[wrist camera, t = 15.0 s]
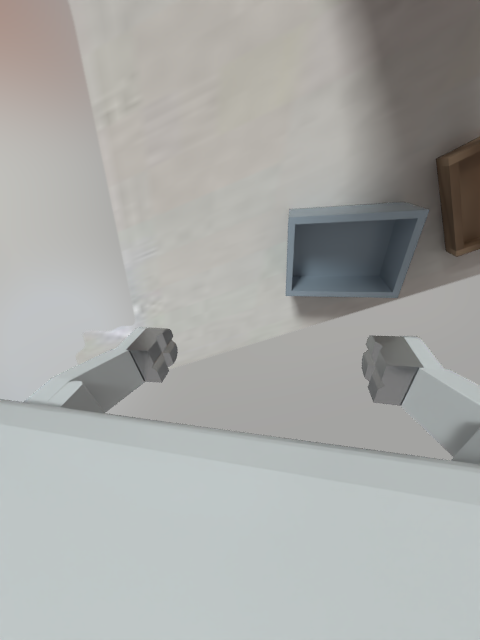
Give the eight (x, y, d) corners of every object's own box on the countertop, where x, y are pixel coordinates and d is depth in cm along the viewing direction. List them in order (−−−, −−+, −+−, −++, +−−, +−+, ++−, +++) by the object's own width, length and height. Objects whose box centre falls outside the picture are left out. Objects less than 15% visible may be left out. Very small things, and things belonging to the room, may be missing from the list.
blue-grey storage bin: (289, 209, 31) (288, 217, 26) (404, 201, 28) (429, 209, 23) (286, 277, 37) (285, 295, 32) (381, 277, 34) (397, 297, 29)
